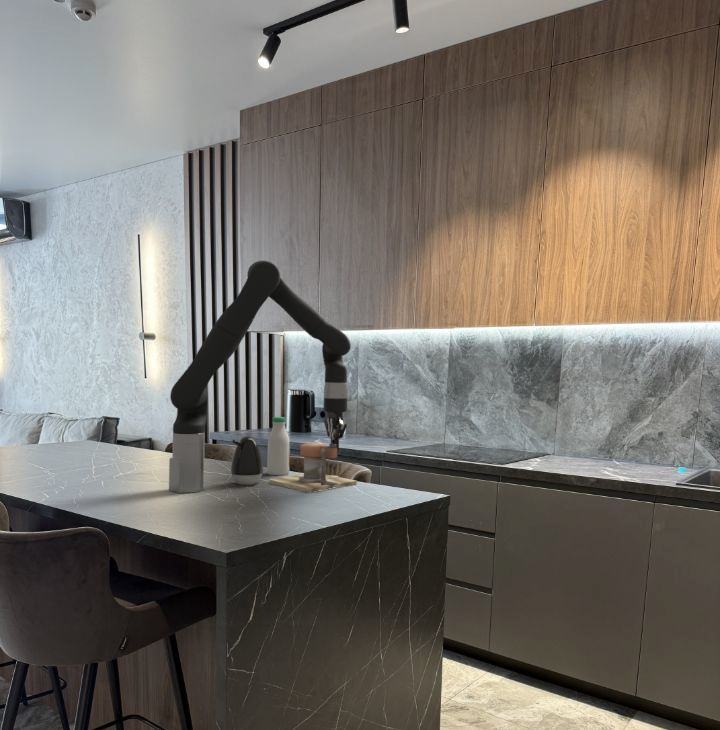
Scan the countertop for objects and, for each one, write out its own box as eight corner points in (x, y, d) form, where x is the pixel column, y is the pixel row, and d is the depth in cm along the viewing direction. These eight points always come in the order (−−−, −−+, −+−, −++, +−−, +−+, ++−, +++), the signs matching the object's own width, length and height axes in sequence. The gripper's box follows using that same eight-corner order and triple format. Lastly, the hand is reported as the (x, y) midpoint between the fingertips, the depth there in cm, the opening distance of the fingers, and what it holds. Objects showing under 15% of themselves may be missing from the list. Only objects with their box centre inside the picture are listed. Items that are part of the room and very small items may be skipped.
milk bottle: (287, 476, 205) (288, 418, 205) (265, 475, 205) (266, 417, 205) (290, 472, 212) (291, 416, 213) (268, 471, 212) (269, 416, 213)
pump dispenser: (224, 483, 190) (224, 435, 190) (252, 479, 197) (253, 433, 197) (239, 488, 182) (240, 438, 182) (268, 484, 189) (269, 436, 189)
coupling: (295, 454, 191) (295, 441, 191) (314, 452, 197) (314, 439, 197) (325, 459, 181) (325, 445, 181) (344, 457, 187) (344, 443, 187)
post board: (309, 492, 177) (310, 450, 177) (269, 483, 191) (269, 444, 191) (356, 484, 191) (357, 445, 191) (315, 476, 205) (316, 440, 205)
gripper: (355, 397, 184) (354, 453, 184) (338, 395, 196) (337, 448, 196) (332, 397, 181) (331, 454, 180) (316, 395, 193) (316, 449, 192)
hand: (334, 451), depth 188 cm, fingers closed
